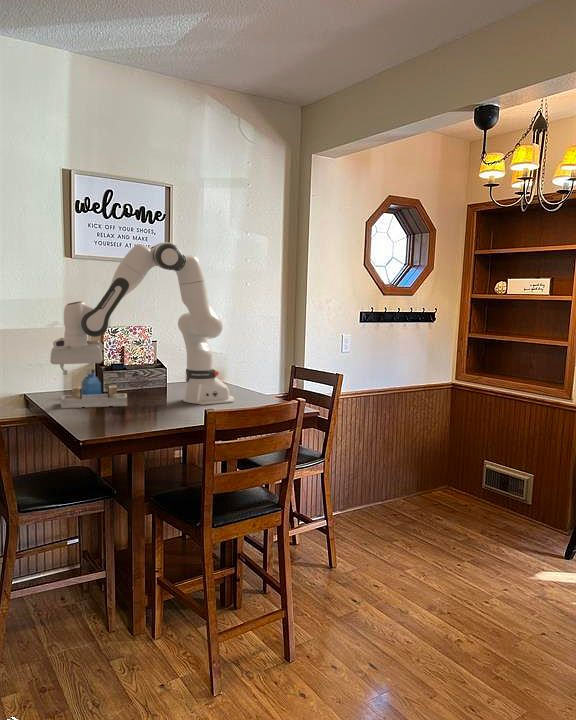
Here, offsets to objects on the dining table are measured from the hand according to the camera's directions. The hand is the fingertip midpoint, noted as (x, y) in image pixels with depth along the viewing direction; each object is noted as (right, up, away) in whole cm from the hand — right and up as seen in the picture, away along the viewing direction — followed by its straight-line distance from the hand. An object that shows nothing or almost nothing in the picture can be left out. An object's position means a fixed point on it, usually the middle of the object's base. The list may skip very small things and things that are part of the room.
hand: (77, 374), depth 238 cm
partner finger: (+13, -11, +5) cm, 18 cm away
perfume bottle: (-1, -11, +21) cm, 23 cm away
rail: (+6, -13, +3) cm, 15 cm away
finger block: (0, -12, +1) cm, 12 cm away
